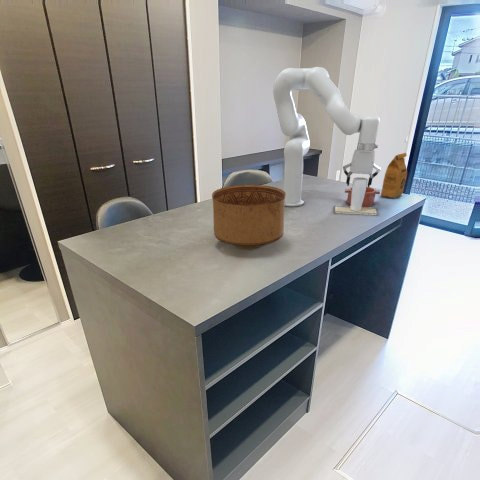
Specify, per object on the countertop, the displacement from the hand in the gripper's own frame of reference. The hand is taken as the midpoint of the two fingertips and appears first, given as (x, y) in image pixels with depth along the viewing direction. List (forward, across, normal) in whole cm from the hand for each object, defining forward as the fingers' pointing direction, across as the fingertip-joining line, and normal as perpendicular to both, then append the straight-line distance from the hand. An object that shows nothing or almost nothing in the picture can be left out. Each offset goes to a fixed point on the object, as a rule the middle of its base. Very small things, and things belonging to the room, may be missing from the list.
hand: (358, 185), depth 171 cm
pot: (+13, +43, +54) cm, 70 cm away
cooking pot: (+12, -4, -14) cm, 19 cm away
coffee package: (+12, -22, -31) cm, 40 cm away
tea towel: (+12, -1, 0) cm, 12 cm away
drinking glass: (+12, -1, 0) cm, 12 cm away
